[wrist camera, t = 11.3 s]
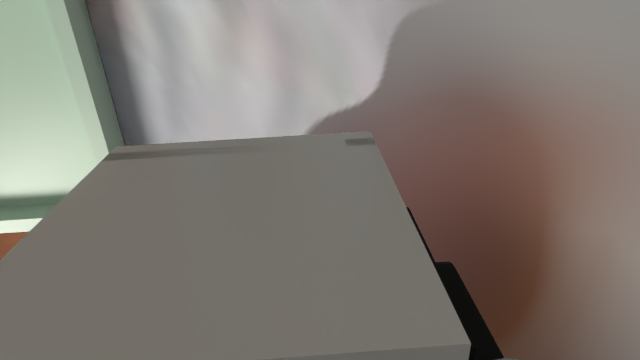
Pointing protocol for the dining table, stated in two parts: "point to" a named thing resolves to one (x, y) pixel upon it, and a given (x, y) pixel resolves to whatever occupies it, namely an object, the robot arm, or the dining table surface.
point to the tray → (49, 107)
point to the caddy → (229, 260)
